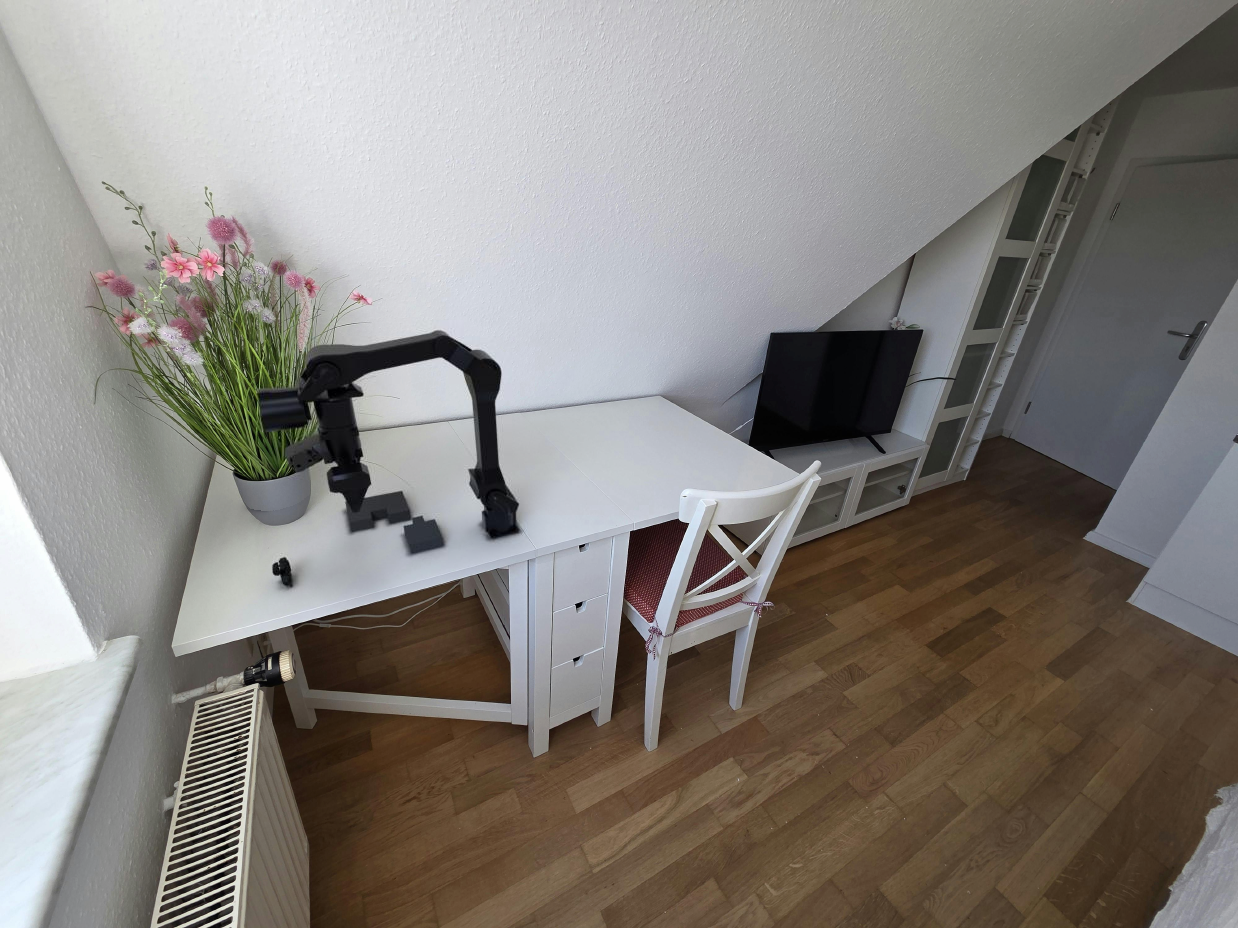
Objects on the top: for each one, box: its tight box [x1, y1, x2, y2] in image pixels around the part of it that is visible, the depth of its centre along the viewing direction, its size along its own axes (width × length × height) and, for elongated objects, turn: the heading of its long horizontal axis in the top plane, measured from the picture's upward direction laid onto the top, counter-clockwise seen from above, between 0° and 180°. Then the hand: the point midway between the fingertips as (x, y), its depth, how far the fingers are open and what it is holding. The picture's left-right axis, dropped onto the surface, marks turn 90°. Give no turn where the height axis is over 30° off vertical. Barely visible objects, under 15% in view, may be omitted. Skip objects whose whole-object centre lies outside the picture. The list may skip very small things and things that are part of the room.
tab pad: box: [403, 515, 444, 555], centre depth 108 cm, size 6×9×2 cm
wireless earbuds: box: [271, 556, 294, 588], centre depth 93 cm, size 7×2×5 cm, turn 32°
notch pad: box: [344, 490, 412, 533], centre depth 114 cm, size 12×9×2 cm
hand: (353, 499), depth 94 cm, fingers open, 9 cm apart
